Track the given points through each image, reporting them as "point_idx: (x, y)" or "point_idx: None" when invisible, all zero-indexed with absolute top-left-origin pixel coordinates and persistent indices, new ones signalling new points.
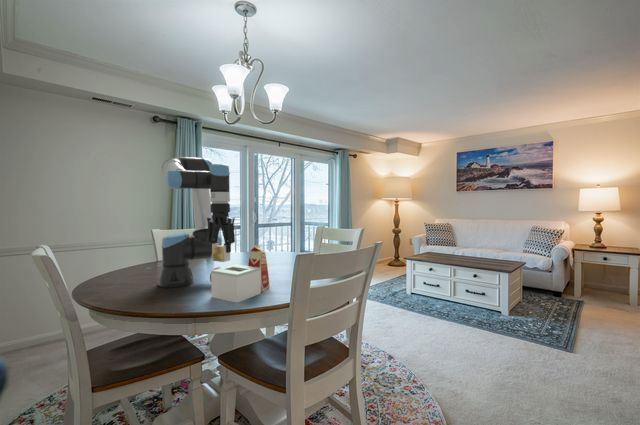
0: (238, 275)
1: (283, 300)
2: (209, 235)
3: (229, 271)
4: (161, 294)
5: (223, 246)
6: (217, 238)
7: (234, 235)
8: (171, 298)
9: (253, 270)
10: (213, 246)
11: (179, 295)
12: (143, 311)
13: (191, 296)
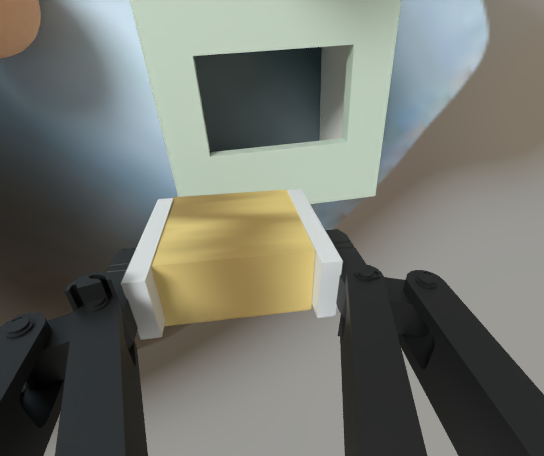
0: (373, 183)
1: (478, 15)
2: (45, 445)
3: (290, 174)
4: (4, 257)
5: (293, 292)
6: (122, 337)
7: (493, 338)
8: (92, 257)
9: (392, 46)
10: (179, 321)
11: (70, 225)
12: (165, 337)
13: (119, 205)
